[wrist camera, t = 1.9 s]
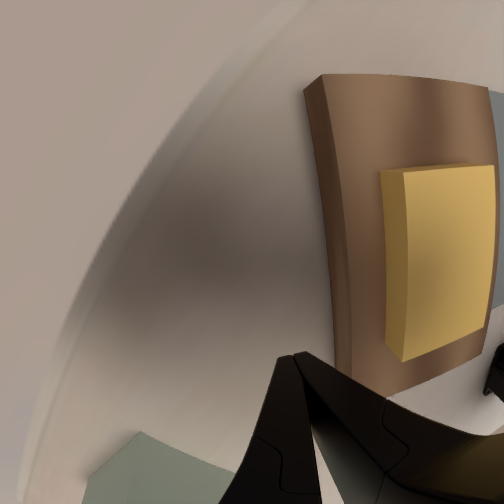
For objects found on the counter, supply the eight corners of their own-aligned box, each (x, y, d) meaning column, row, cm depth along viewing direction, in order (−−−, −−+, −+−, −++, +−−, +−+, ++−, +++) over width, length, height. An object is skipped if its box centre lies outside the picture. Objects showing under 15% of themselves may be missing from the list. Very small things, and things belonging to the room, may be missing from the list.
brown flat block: (457, 93, 15) (487, 87, 12) (459, 335, 20) (481, 353, 17) (303, 89, 14) (321, 74, 11) (335, 380, 19) (350, 409, 16)
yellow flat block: (468, 163, 13) (494, 165, 11) (463, 313, 15) (483, 326, 14) (379, 170, 13) (403, 172, 11) (384, 342, 15) (402, 362, 13)
